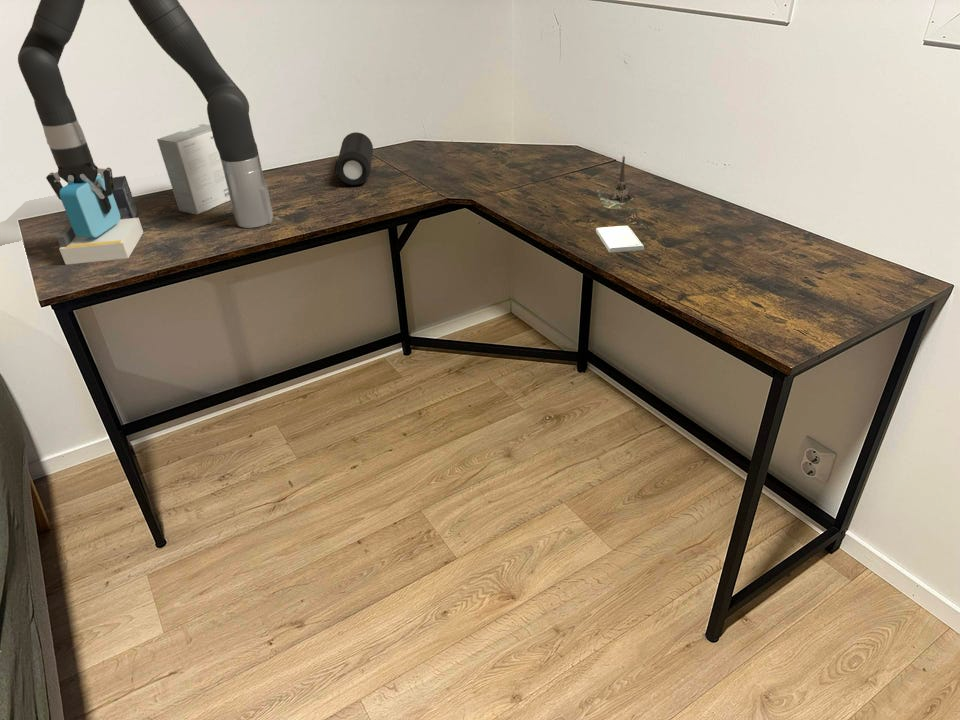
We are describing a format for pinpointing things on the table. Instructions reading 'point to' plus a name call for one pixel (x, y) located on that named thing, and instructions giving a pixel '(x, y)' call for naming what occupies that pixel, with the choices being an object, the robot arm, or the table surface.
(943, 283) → the table surface
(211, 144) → the hard drive box
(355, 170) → the portable speaker
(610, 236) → the hard drive
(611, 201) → the eiffel tower figurine
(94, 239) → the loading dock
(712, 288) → the table surface
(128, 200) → the small box
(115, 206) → the data package
